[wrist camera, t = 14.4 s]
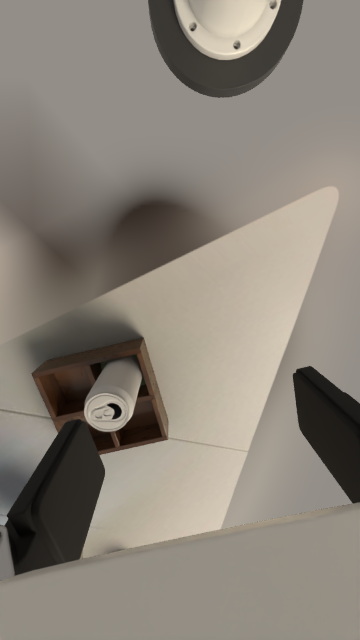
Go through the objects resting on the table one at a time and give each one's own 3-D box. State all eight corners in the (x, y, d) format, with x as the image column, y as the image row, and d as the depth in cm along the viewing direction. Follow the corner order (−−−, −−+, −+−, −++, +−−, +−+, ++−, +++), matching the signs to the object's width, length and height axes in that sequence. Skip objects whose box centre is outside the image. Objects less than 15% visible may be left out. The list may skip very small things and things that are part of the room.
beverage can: (147, 380, 42) (138, 428, 31) (112, 389, 43) (90, 439, 31) (137, 348, 41) (123, 385, 29) (101, 357, 41) (73, 398, 29)
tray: (46, 360, 42) (31, 373, 37) (143, 337, 41) (140, 348, 37) (80, 440, 47) (70, 461, 42) (168, 421, 46) (168, 439, 41)
